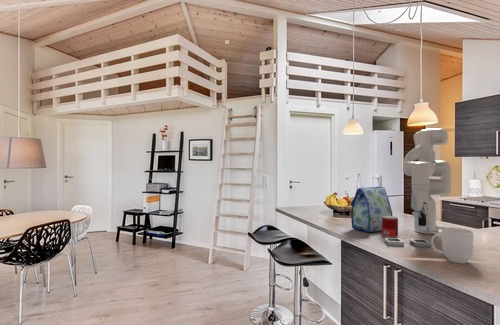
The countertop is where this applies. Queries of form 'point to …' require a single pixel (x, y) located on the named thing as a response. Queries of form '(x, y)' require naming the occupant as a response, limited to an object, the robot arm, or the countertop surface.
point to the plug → (416, 221)
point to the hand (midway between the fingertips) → (420, 224)
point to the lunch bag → (370, 208)
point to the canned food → (390, 225)
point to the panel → (407, 243)
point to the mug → (455, 244)
